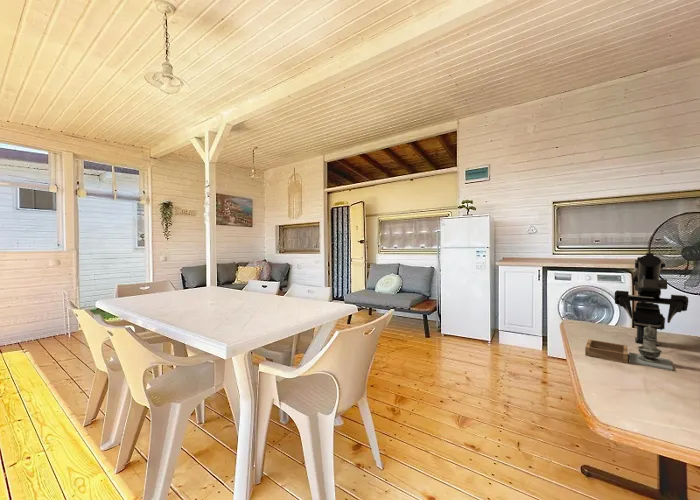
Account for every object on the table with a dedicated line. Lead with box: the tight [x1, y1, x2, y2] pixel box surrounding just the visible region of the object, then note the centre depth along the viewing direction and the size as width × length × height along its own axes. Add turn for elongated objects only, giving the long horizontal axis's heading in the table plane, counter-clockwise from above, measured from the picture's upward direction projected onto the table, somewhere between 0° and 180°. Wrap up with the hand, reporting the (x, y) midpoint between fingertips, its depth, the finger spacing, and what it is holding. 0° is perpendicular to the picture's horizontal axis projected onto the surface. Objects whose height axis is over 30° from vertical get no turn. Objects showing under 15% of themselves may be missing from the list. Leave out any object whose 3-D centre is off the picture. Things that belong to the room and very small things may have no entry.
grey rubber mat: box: [628, 352, 674, 372], centre depth 102 cm, size 10×10×1 cm
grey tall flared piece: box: [636, 324, 662, 363], centre depth 102 cm, size 6×6×12 cm
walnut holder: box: [584, 339, 629, 364], centre depth 109 cm, size 11×11×3 cm
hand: (649, 320), depth 106 cm, fingers open, 9 cm apart
